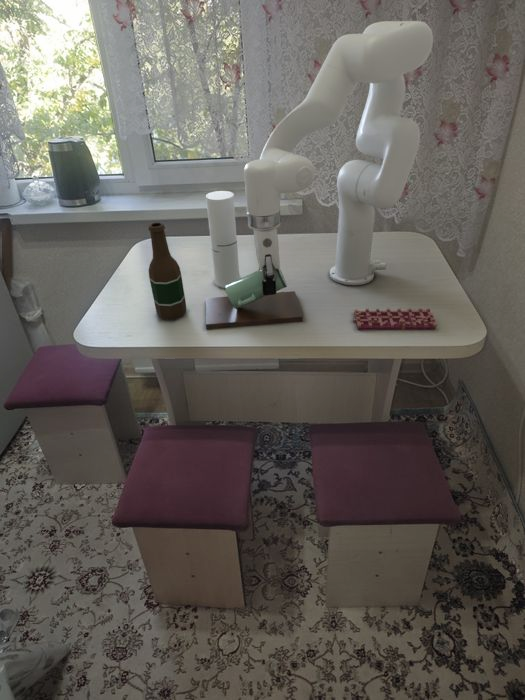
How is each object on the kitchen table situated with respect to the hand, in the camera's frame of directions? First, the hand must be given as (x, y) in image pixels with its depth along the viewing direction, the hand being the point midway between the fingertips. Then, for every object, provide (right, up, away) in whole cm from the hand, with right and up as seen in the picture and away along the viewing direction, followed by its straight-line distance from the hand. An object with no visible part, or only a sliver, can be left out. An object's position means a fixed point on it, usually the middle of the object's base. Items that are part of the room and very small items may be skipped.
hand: (267, 286), depth 114 cm
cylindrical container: (-11, +4, +17) cm, 21 cm away
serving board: (-4, -6, +3) cm, 8 cm away
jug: (-9, -3, 0) cm, 10 cm away
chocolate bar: (+31, -9, -2) cm, 32 cm away
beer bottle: (-25, -7, +4) cm, 26 cm away
